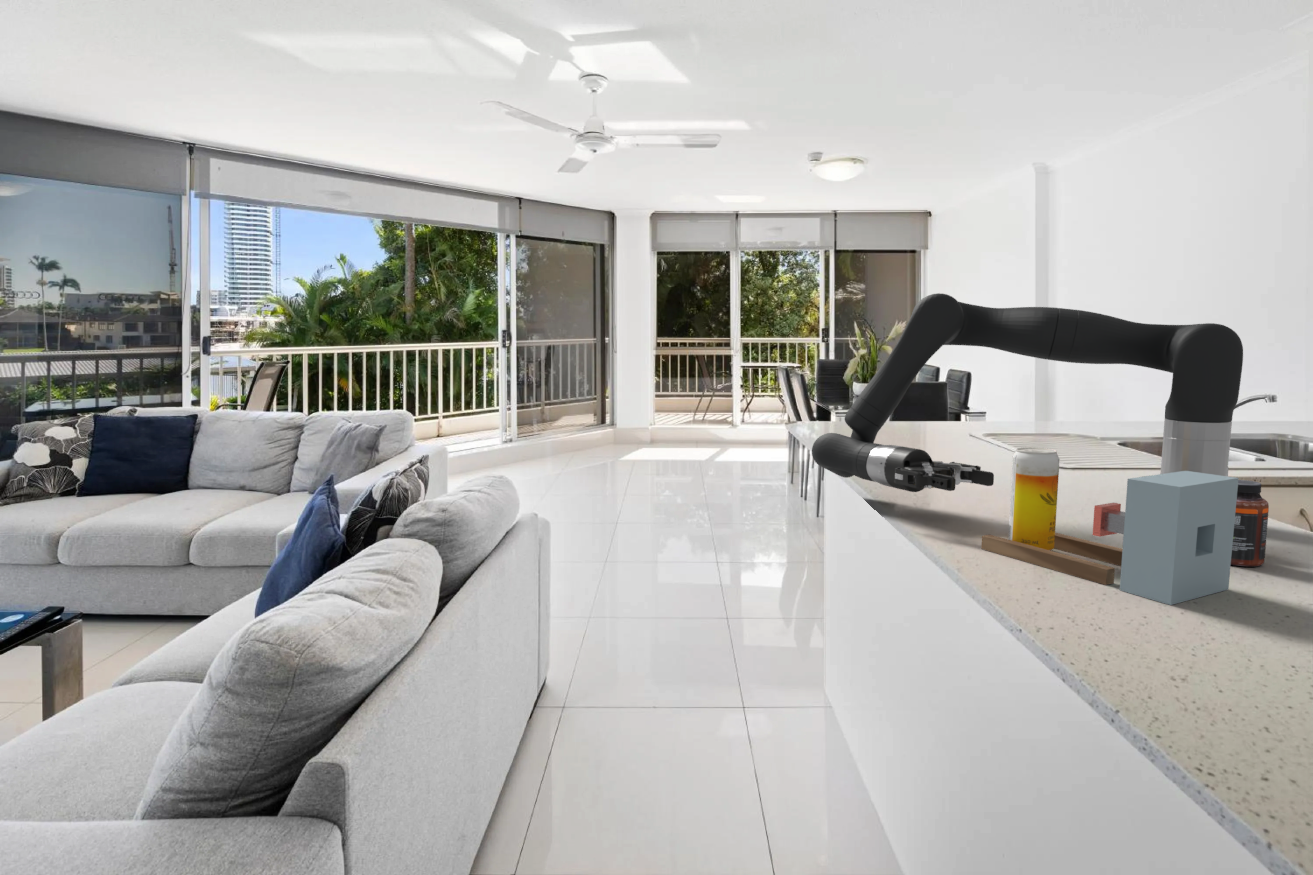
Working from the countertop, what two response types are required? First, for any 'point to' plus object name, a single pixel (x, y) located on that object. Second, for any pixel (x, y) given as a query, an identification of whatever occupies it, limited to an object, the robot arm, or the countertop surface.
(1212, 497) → the end cabinet
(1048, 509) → the beer can
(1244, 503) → the supplement bottle
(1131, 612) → the countertop surface
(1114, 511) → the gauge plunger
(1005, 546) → the rail track
